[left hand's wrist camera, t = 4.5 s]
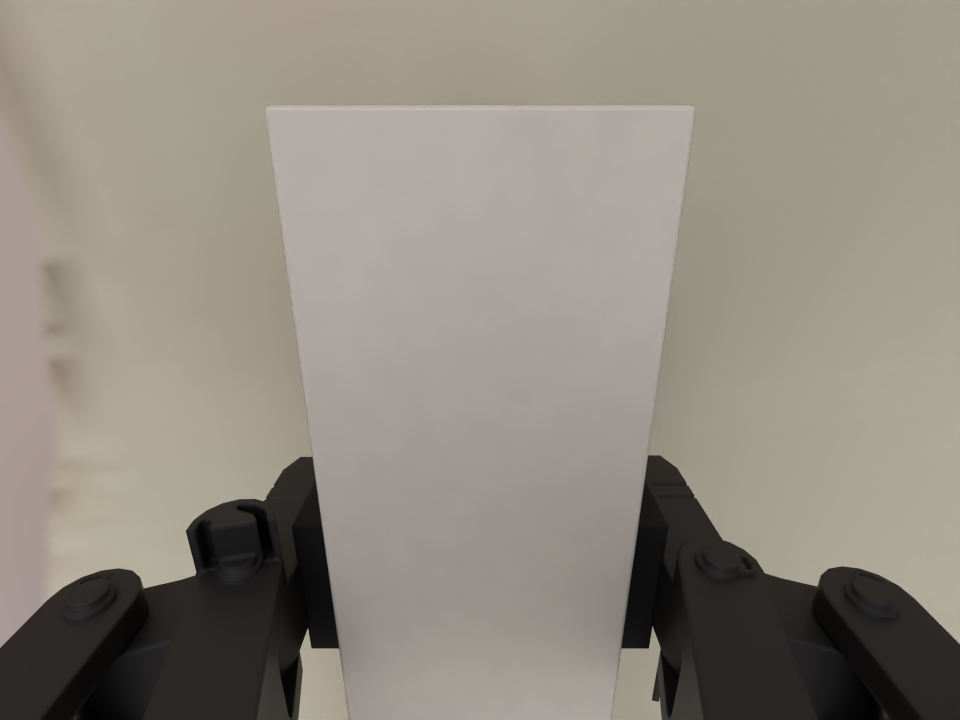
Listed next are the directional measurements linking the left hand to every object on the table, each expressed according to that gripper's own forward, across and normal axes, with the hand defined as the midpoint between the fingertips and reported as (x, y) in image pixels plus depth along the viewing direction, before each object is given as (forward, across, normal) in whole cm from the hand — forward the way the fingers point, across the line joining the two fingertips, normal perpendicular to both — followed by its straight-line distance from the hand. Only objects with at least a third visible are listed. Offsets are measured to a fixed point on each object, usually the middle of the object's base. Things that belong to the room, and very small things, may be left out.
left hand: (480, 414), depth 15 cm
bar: (+1, 0, -28) cm, 28 cm away
